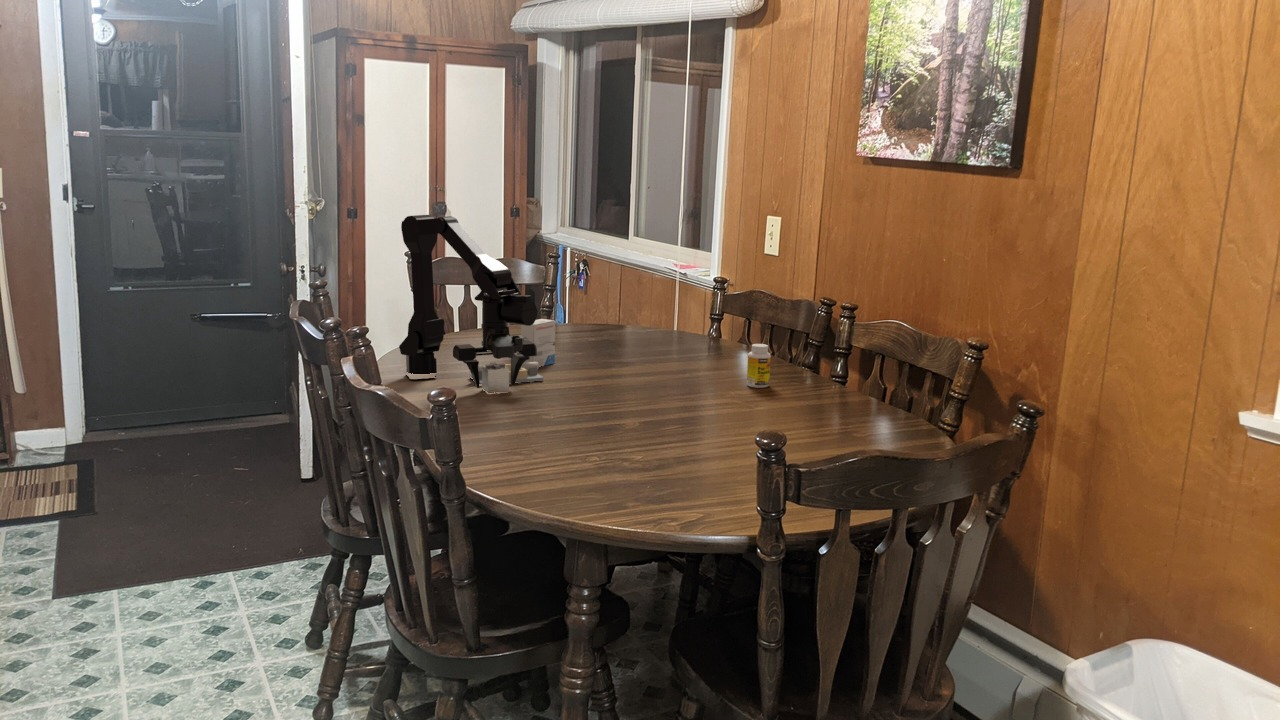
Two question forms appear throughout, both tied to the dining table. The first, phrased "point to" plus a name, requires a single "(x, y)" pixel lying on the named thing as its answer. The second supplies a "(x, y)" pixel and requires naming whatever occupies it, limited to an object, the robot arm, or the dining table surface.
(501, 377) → the block
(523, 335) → the ink box
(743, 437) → the dining table surface
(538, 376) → the shaft bench
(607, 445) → the dining table surface
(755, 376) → the supplement bottle
